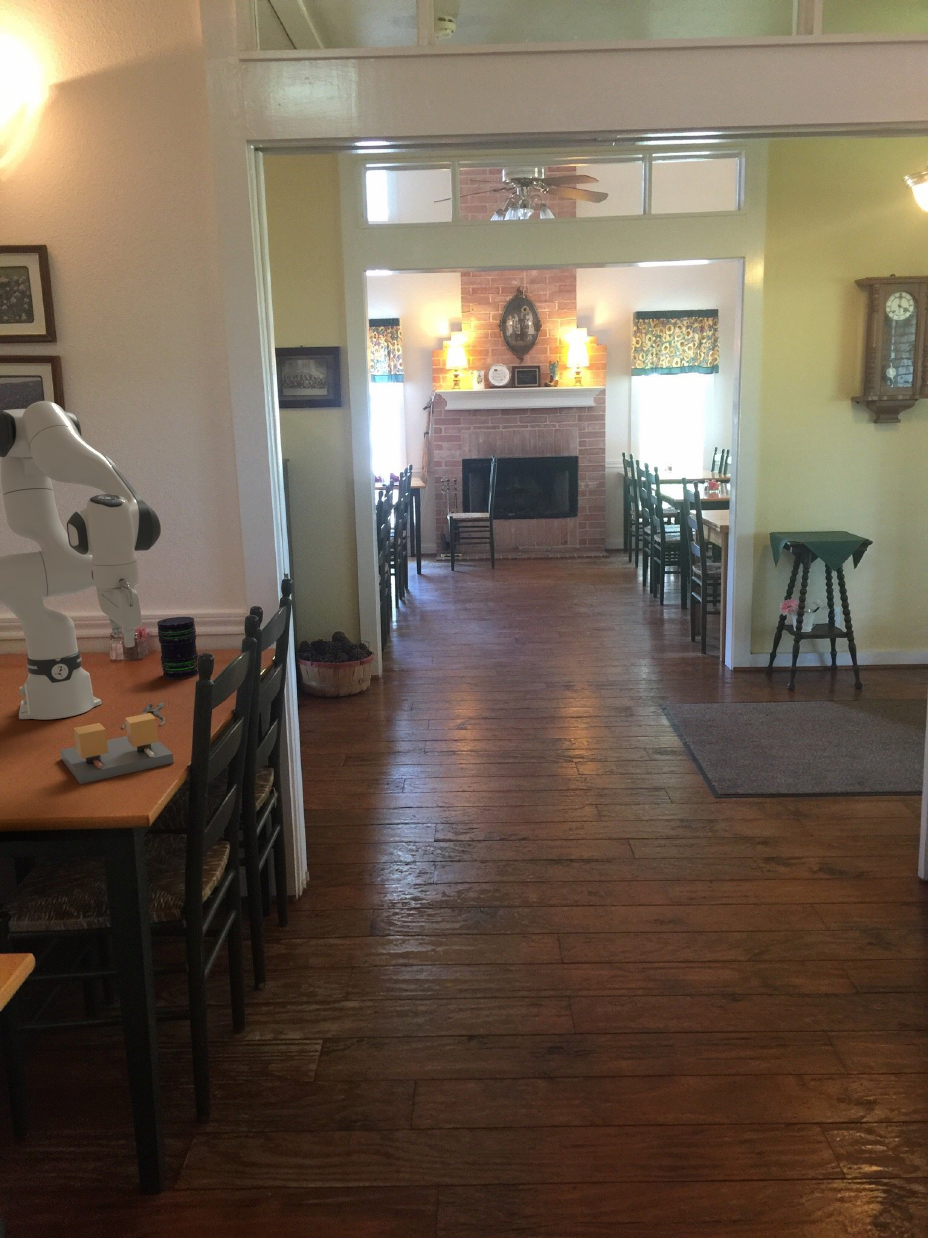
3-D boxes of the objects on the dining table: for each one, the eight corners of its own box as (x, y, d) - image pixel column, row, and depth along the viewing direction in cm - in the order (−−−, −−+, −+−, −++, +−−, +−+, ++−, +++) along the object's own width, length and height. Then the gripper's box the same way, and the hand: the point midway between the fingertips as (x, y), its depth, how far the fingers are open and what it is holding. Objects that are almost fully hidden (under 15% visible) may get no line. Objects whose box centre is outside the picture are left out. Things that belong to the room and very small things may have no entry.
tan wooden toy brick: (153, 736, 203) (150, 713, 202) (158, 741, 199) (155, 718, 198) (128, 741, 201) (125, 718, 200) (133, 747, 196) (130, 723, 195)
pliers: (121, 729, 220) (122, 705, 238) (121, 733, 220) (122, 709, 238) (166, 723, 222) (163, 700, 241) (166, 727, 223) (164, 704, 241)
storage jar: (202, 668, 273) (197, 615, 270) (197, 677, 263) (192, 623, 260) (165, 671, 272) (159, 618, 269) (159, 680, 262) (153, 625, 259)
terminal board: (61, 759, 203) (56, 718, 201) (149, 740, 213) (144, 701, 211) (80, 784, 188) (74, 740, 186) (173, 763, 198) (169, 721, 196)
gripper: (146, 582, 192) (153, 650, 196) (119, 566, 209) (126, 629, 212) (113, 586, 189) (120, 655, 192) (89, 569, 206) (96, 633, 209)
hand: (123, 641), depth 203 cm, fingers open, 8 cm apart
